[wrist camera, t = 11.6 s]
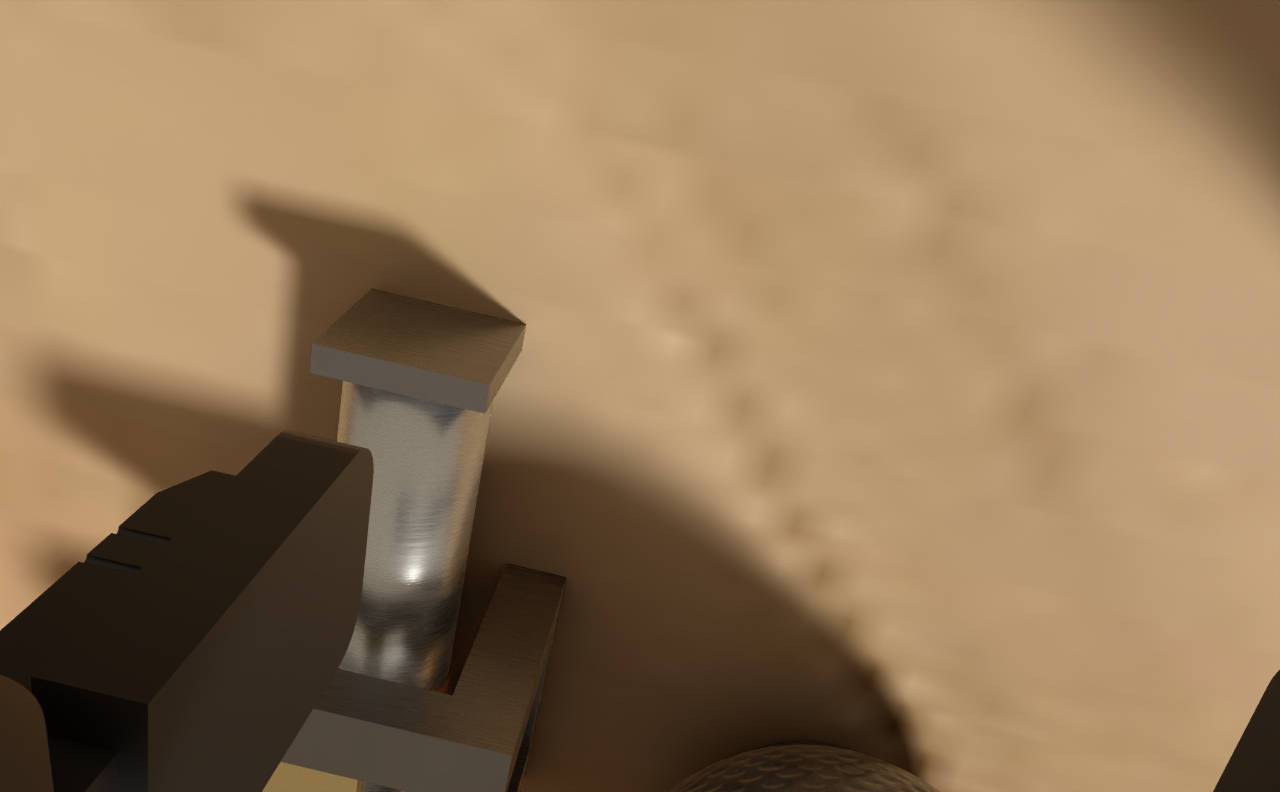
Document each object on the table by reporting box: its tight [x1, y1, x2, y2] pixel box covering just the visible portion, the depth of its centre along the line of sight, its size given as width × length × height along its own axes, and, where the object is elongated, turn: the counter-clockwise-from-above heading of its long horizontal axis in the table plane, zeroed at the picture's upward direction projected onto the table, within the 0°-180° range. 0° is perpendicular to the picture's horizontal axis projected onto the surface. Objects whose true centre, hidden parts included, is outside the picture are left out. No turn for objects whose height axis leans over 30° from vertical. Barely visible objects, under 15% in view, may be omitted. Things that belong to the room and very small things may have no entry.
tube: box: [310, 289, 526, 792], centre depth 41 cm, size 6×22×6 cm, turn 168°
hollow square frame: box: [262, 564, 566, 792], centre depth 40 cm, size 12×10×10 cm
